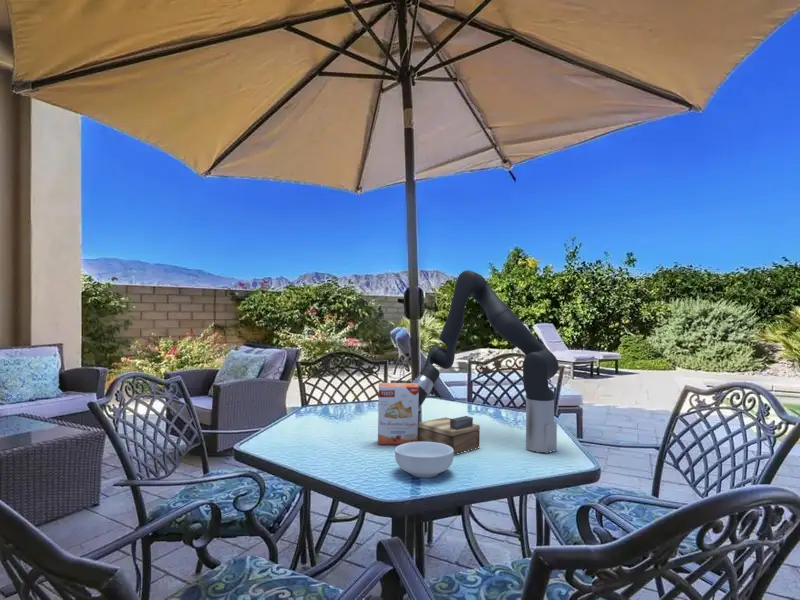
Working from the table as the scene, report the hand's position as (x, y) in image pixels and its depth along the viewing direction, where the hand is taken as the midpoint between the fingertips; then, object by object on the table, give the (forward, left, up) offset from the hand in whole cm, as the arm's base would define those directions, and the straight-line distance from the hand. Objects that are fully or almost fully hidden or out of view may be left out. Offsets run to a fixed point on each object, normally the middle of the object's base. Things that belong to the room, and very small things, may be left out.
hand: (394, 427), depth 170 cm
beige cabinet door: (-18, -9, +2) cm, 20 cm away
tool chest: (-18, -9, -5) cm, 21 cm away
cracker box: (-3, +1, -5) cm, 6 cm away
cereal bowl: (-32, +16, -5) cm, 36 cm away
